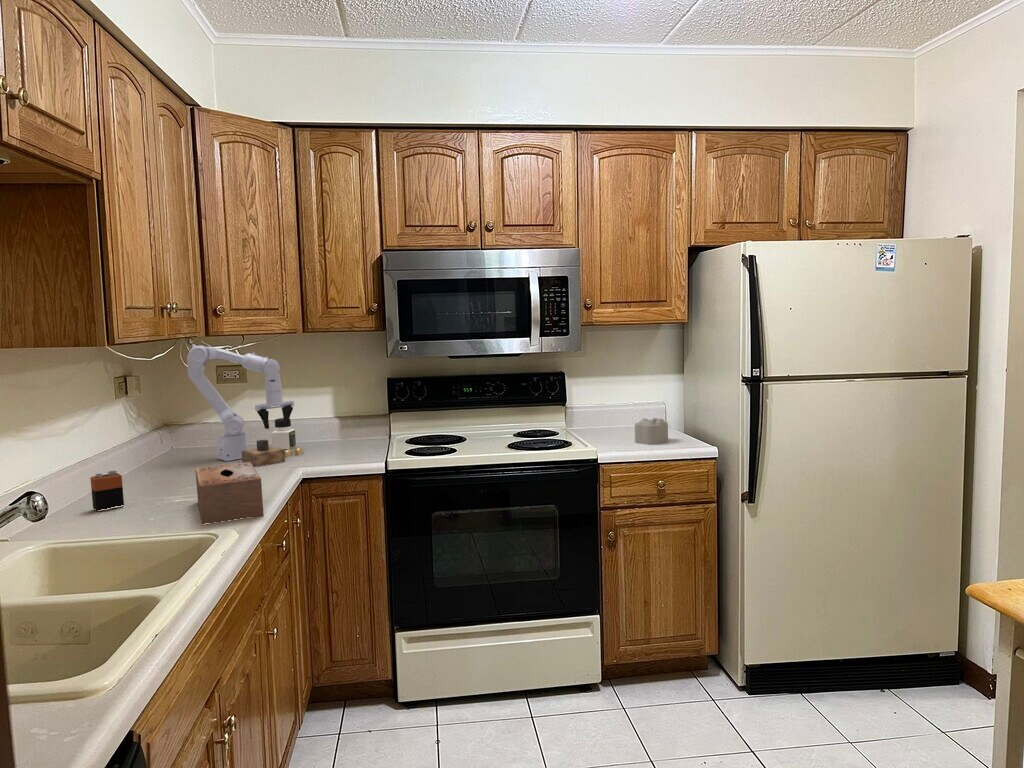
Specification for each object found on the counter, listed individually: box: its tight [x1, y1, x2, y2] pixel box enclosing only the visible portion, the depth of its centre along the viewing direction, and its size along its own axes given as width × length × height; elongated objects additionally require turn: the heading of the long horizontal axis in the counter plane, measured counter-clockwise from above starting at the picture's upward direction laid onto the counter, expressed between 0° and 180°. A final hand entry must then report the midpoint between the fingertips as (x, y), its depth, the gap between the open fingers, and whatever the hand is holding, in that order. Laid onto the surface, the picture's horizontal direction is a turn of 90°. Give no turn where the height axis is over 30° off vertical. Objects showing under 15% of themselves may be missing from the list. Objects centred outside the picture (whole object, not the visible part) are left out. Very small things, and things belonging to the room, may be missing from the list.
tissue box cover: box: [195, 462, 264, 525], centre depth 186 cm, size 26×14×10 cm, turn 26°
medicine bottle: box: [271, 417, 297, 450], centre depth 278 cm, size 7×7×12 cm
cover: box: [241, 439, 286, 467], centre depth 250 cm, size 11×11×8 cm
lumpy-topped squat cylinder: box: [634, 417, 669, 446], centre depth 265 cm, size 10×13×9 cm
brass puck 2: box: [293, 447, 304, 456], centre depth 263 cm, size 3×3×2 cm
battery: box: [89, 470, 125, 511], centre depth 191 cm, size 4×7×10 cm, turn 133°
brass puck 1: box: [284, 449, 293, 458], centre depth 260 cm, size 3×3×2 cm
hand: (276, 427), depth 264 cm, fingers open, 7 cm apart
